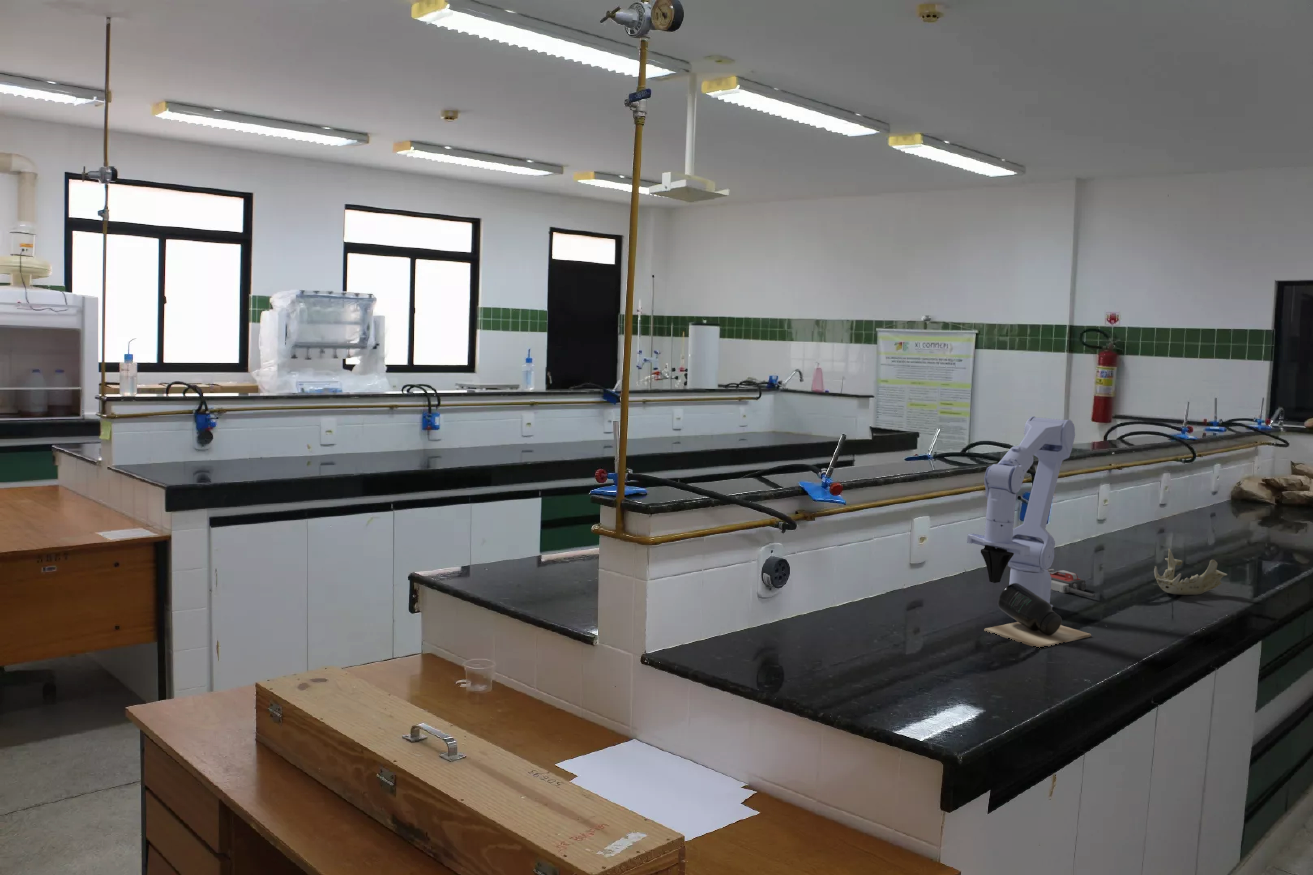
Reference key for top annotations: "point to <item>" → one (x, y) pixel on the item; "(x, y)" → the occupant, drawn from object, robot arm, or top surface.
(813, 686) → the top surface
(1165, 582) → the mandible
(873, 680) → the top surface
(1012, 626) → the tan paper sheet
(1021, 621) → the supplement bottle
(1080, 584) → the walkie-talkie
